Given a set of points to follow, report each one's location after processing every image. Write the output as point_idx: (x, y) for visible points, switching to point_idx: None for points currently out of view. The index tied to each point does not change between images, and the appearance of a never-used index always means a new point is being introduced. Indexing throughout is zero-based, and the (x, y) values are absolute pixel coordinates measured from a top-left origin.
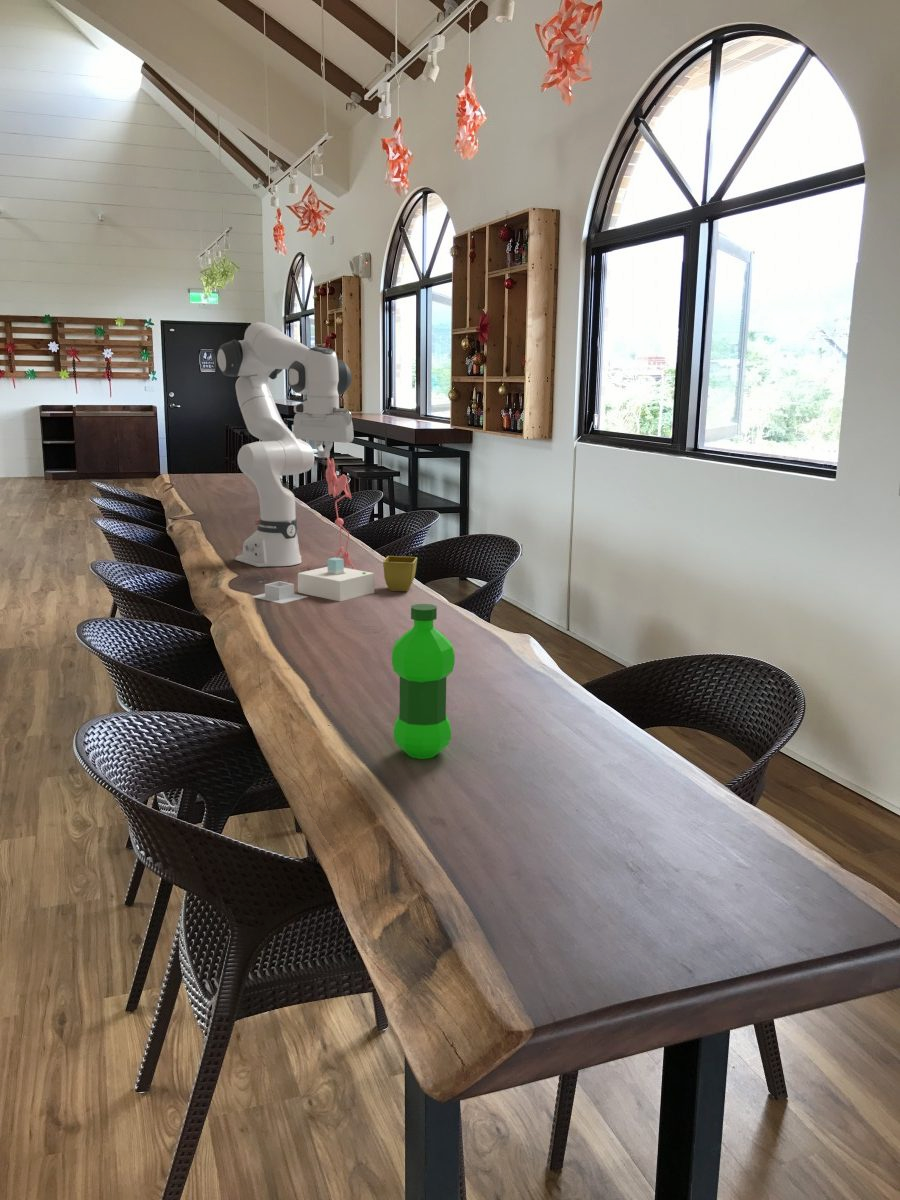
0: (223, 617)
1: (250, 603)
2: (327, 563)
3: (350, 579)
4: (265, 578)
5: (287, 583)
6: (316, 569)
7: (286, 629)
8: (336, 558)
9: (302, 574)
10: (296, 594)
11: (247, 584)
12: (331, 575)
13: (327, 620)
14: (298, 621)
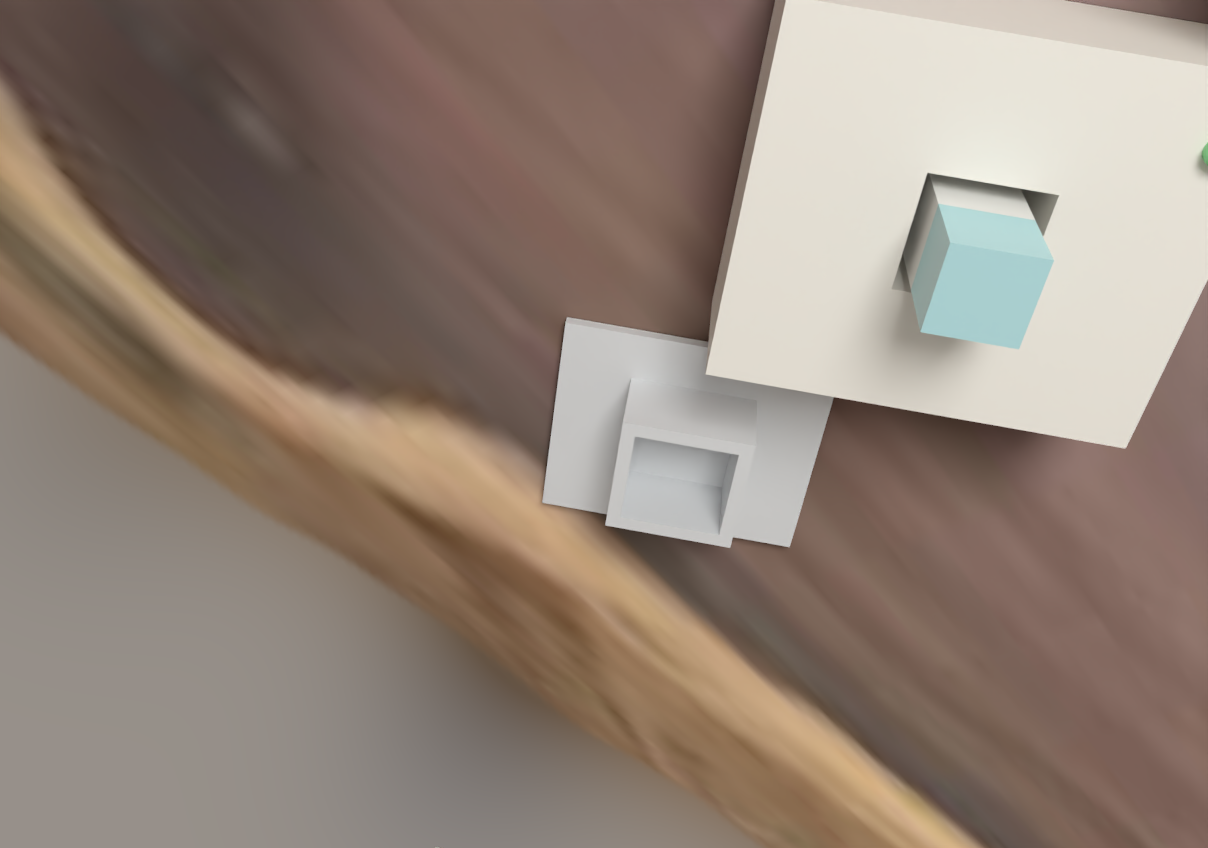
0: (685, 774)
1: (616, 570)
2: (917, 313)
3: (1169, 352)
4: (192, 22)
5: (706, 448)
6: (754, 208)
7: (1051, 814)
8: (982, 274)
9: (753, 380)
10: None
11: (255, 240)
12: None
13: (1174, 663)
14: (1039, 718)
